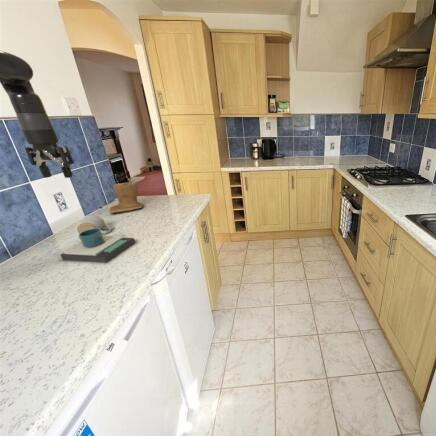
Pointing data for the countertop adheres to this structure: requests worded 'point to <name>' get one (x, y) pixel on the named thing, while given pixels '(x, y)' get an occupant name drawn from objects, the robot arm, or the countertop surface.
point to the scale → (99, 250)
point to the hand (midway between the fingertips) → (58, 177)
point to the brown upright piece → (126, 198)
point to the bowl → (91, 238)
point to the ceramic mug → (93, 224)
